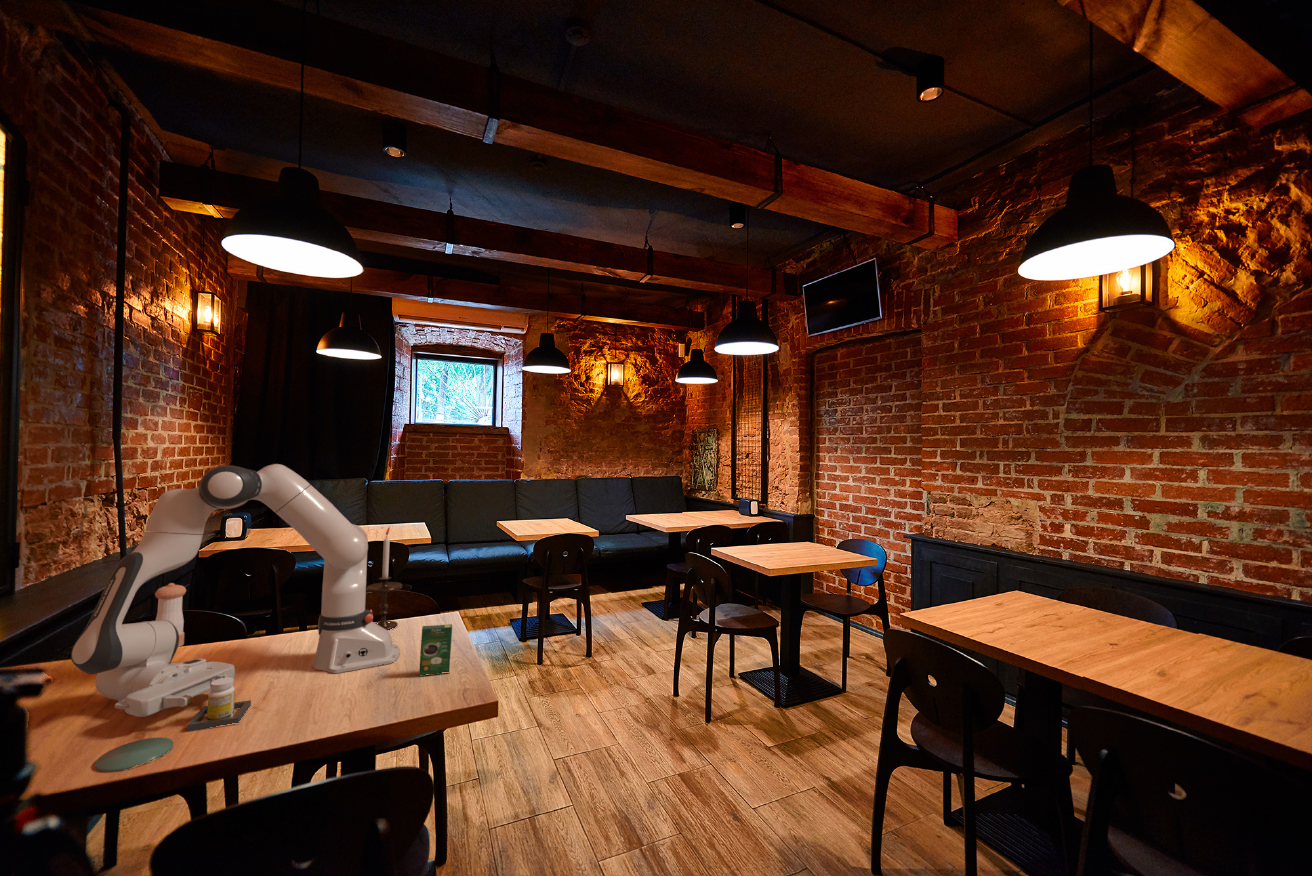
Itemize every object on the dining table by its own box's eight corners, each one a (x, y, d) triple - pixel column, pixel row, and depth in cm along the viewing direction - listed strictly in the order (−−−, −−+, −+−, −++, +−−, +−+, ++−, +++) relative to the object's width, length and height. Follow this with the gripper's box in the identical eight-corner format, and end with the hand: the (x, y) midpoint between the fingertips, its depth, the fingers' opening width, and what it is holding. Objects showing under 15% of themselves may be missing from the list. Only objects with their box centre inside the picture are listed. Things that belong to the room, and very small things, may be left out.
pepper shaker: (165, 651, 157) (168, 587, 157) (144, 649, 158) (148, 585, 158) (190, 643, 164) (193, 581, 164) (170, 641, 165) (174, 579, 166)
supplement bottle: (217, 713, 121) (219, 676, 122) (238, 713, 122) (240, 676, 122) (201, 724, 117) (203, 685, 117) (223, 723, 117) (225, 685, 117)
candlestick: (398, 620, 190) (402, 523, 191) (402, 629, 181) (406, 527, 182) (364, 625, 184) (368, 525, 186) (366, 634, 175) (370, 529, 176)
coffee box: (450, 669, 149) (452, 623, 149) (450, 673, 146) (452, 626, 147) (419, 673, 146) (421, 625, 147) (418, 677, 143) (420, 628, 144)
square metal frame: (250, 706, 125) (251, 700, 125) (238, 724, 117) (238, 717, 117) (203, 712, 122) (203, 706, 122) (186, 731, 113) (187, 725, 113)
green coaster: (182, 736, 112) (182, 733, 112) (158, 764, 101) (158, 761, 101) (114, 746, 107) (114, 743, 107) (81, 777, 97) (81, 773, 97)
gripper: (109, 690, 113) (160, 698, 110) (208, 655, 133) (253, 661, 130) (108, 720, 113) (158, 729, 110) (207, 681, 133) (252, 687, 130)
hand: (210, 692), depth 120 cm, fingers open, 8 cm apart
